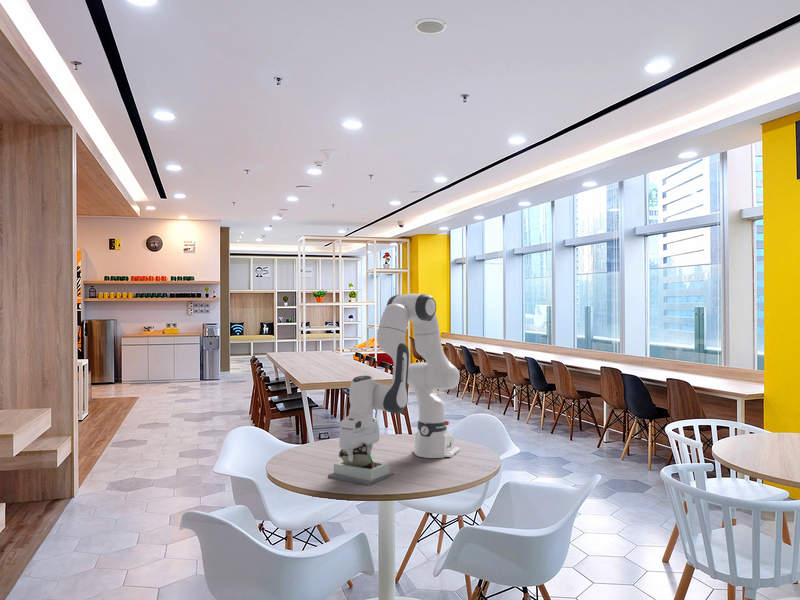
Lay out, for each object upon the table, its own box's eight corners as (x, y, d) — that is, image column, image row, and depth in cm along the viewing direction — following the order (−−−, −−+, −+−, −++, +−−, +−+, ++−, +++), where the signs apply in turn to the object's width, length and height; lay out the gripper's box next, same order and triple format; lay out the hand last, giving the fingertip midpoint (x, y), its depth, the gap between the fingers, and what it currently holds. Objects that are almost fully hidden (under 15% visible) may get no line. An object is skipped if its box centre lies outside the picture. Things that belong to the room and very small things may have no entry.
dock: (355, 467, 211) (355, 455, 211) (393, 474, 201) (393, 462, 201) (328, 477, 197) (328, 464, 197) (368, 485, 187) (368, 472, 188)
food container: (381, 457, 202) (372, 438, 197) (377, 470, 197) (368, 451, 192) (351, 459, 206) (342, 440, 201) (347, 472, 201) (337, 453, 196)
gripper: (370, 416, 210) (369, 452, 209) (336, 423, 193) (335, 462, 192) (383, 417, 206) (382, 454, 206) (350, 425, 189) (349, 465, 188)
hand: (359, 458), depth 199 cm, fingers open, 8 cm apart
